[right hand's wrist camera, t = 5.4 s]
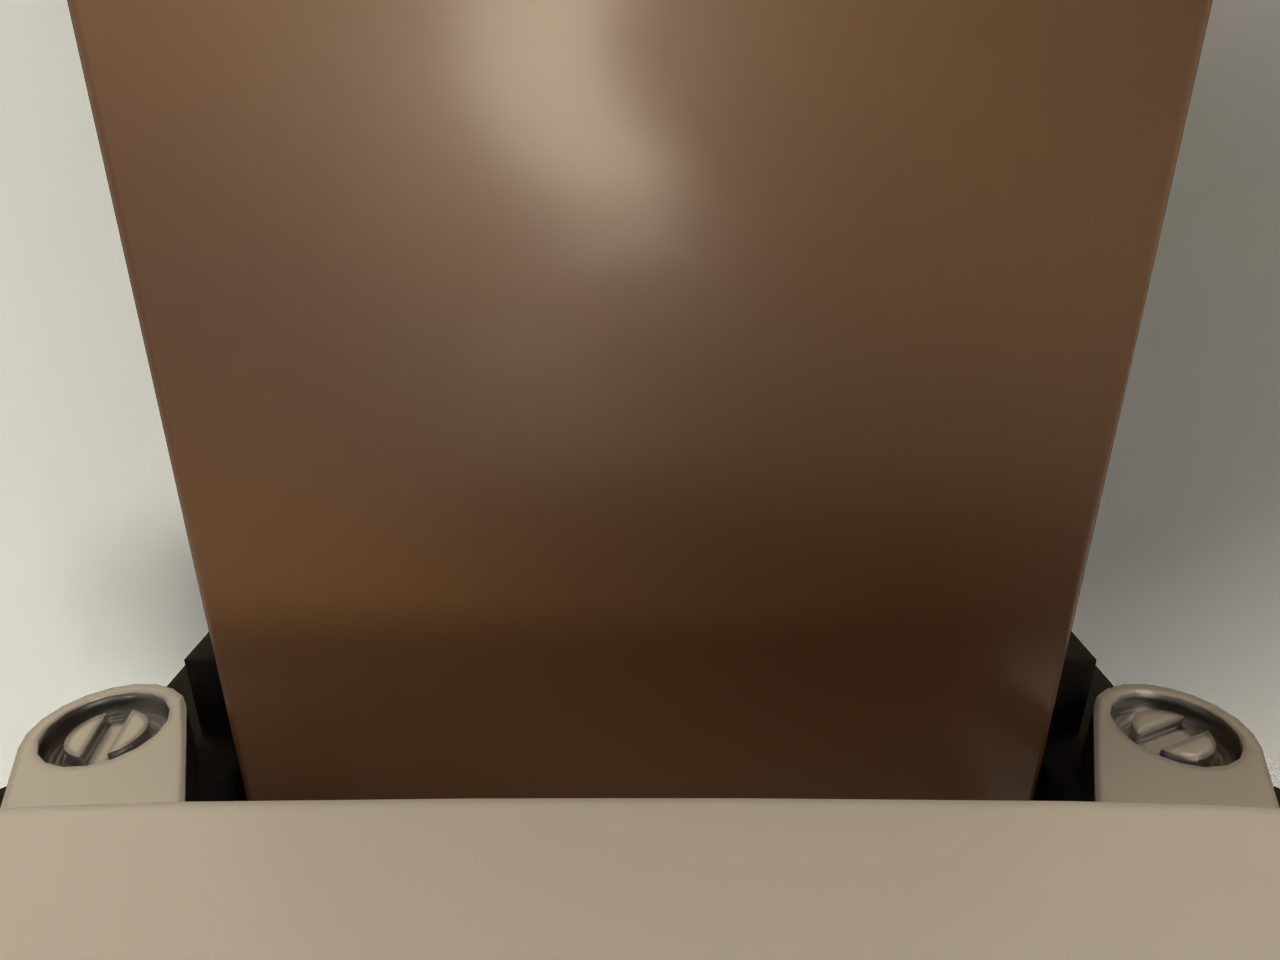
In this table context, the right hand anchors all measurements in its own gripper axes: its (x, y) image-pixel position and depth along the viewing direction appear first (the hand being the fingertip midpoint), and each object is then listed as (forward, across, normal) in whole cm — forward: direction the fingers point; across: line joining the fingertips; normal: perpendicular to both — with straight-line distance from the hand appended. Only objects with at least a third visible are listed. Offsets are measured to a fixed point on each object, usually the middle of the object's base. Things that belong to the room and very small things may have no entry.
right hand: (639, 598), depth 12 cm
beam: (+1, 0, -33) cm, 33 cm away
